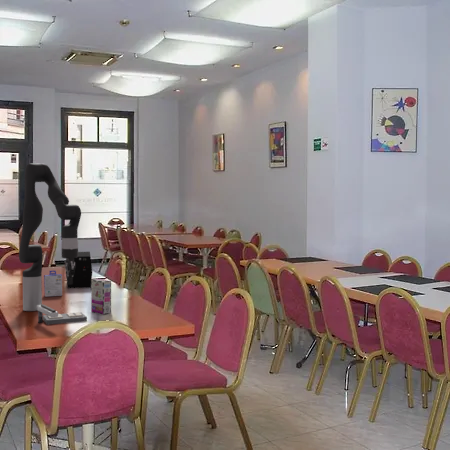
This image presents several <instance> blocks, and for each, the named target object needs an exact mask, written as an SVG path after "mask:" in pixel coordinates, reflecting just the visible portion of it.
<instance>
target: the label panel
mask: <svg viewBox="0 0 450 450" xmlns="http://www.w3.org/2000/svg"><path fill="white" fill-rule="evenodd" d="M43 321H44V323H45V324H46V325H47V326H48V325H58V324H59V325H60V324H71V323H82V322H87V321H88V317H87V316H86V315H85V314H84V313H83V312H79V311H78V312H69V313H68V312H66V313H58V317H50V316H48V315H46V314H43Z"/></svg>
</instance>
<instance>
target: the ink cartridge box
mask: <svg viewBox="0 0 450 450" xmlns="http://www.w3.org/2000/svg"><path fill="white" fill-rule="evenodd" d="M43 280H44V281H43V282H44V283H43V284H44V287H43V288H44V297H60V296H63V274H60V273H57V271H56V270H49V274H45V275H43Z"/></svg>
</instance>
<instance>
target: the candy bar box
mask: <svg viewBox="0 0 450 450" xmlns="http://www.w3.org/2000/svg"><path fill="white" fill-rule="evenodd" d="M90 293H91V297H90V299H91V300H90V301H91V312H92V313H95V314H98V315H110V314H112V280H107V279H103V278H102V279H101V278H96V279H94V278H93V279H92V280H91V292H90Z"/></svg>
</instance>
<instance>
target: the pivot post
mask: <svg viewBox="0 0 450 450" xmlns="http://www.w3.org/2000/svg"><path fill="white" fill-rule="evenodd" d="M43 315H44V313H42V312H40V311H38V310H37V321H38V322H37V323H38V324H43V321H44V320H43Z"/></svg>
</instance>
